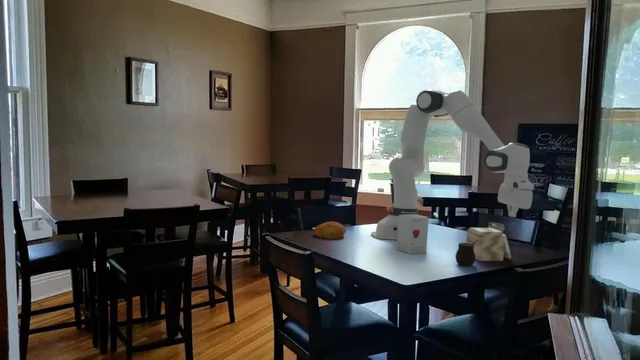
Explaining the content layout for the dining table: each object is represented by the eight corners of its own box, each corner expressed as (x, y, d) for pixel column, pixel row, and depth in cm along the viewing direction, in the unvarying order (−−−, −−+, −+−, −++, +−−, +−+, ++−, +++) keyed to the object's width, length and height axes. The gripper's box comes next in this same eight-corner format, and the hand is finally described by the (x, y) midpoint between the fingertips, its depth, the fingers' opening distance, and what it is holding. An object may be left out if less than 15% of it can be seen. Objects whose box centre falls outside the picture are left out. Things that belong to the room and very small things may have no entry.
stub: (503, 235, 199) (505, 234, 199) (491, 231, 208) (494, 230, 208) (508, 258, 200) (511, 257, 200) (497, 253, 209) (500, 252, 209)
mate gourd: (453, 262, 192) (455, 236, 192) (473, 263, 192) (475, 237, 191) (456, 266, 185) (458, 239, 184) (477, 268, 184) (479, 241, 184)
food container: (505, 249, 221) (506, 227, 220) (490, 248, 222) (492, 225, 221) (501, 244, 233) (502, 222, 232) (487, 243, 234) (488, 221, 234)
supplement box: (409, 254, 203) (411, 217, 202) (396, 249, 211) (398, 214, 210) (427, 253, 207) (429, 216, 206) (413, 248, 215) (415, 213, 214)
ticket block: (479, 260, 197) (481, 232, 196) (465, 253, 208) (467, 226, 208) (503, 260, 198) (504, 232, 197) (488, 253, 210) (490, 227, 209)
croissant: (346, 239, 242) (348, 222, 242) (342, 240, 226) (344, 223, 227) (317, 236, 244) (318, 219, 245) (311, 237, 229) (312, 219, 229)
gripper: (495, 179, 214) (492, 212, 215) (521, 185, 194) (517, 220, 195) (509, 180, 215) (506, 212, 216) (536, 186, 195) (532, 221, 196)
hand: (511, 216), depth 206 cm, fingers closed
